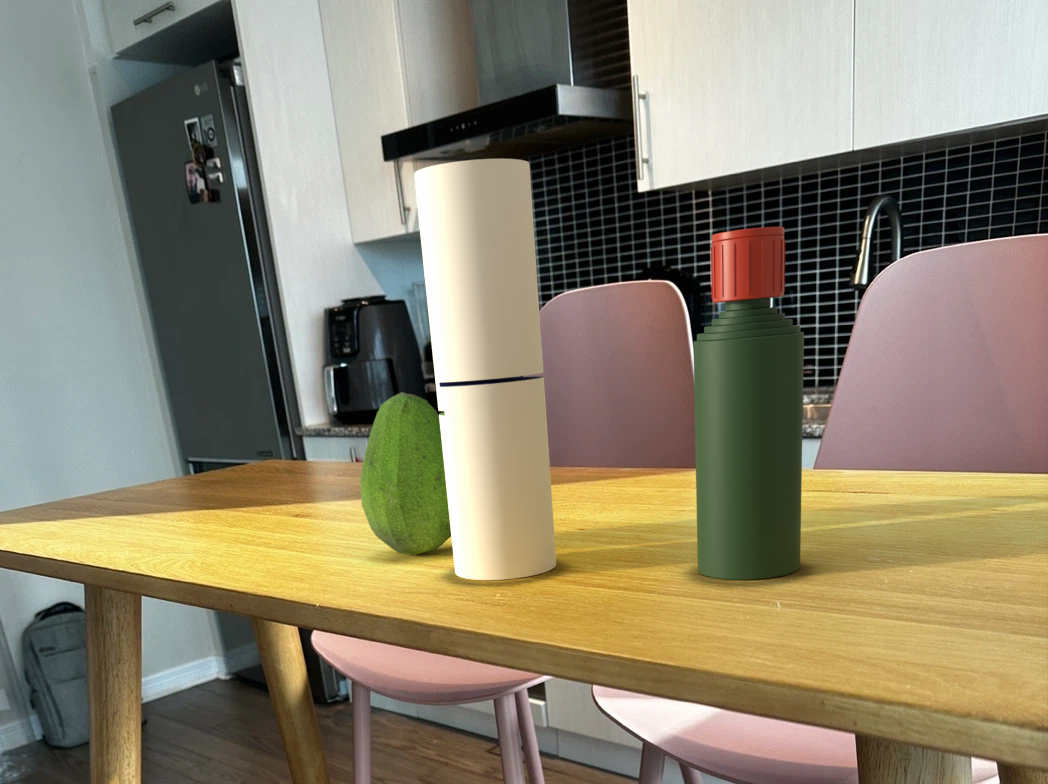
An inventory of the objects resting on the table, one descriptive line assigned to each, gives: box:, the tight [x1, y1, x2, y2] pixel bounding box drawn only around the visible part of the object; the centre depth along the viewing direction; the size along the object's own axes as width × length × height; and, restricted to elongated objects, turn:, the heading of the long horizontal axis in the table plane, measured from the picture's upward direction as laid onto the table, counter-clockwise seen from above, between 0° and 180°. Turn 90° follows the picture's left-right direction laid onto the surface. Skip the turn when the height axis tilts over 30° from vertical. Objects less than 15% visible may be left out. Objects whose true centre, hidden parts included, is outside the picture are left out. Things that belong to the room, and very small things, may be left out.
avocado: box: [359, 391, 452, 556], centre depth 78 cm, size 8×8×12 cm
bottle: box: [692, 298, 805, 581], centre depth 63 cm, size 6×6×19 cm
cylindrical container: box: [413, 158, 557, 581], centre depth 68 cm, size 7×7×25 cm
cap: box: [710, 226, 786, 304], centre depth 60 cm, size 4×4×4 cm
